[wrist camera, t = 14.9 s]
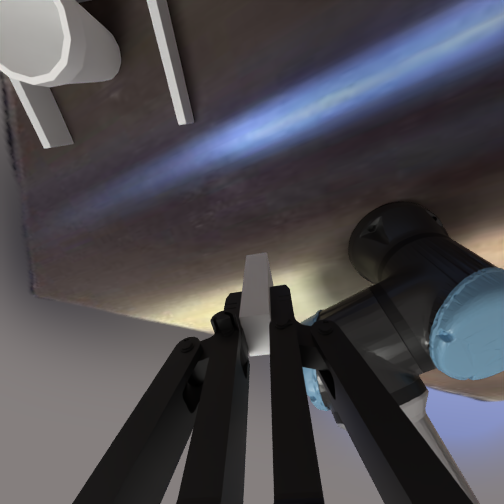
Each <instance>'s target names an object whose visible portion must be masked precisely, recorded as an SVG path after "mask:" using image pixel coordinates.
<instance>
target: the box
mask: <svg viewBox="0 0 504 504" xmlns="http://www.w3.org/2000/svg"><path fill="white" fill-rule="evenodd" d="M75 1H76V2H77V3H81V2H86V1H90V0H75ZM147 3H148V7H149V11H150V15H151V19H152V23H153V27H154V31H155V35H156V38H157V42H158V46H159V50H160V54H161V58H162V62H163V66H164V70H165V73H166V77H167V81H168V85H169V89H170V93H171V97H172V101H173V105H174V109H175V112H176V116H177V120H178V124H179V125H183V124H190V123H195V122H194V118H193V114H192V109H191V105H190V101H189V96H188V92H187V87H186V83H185V79H184V74H183V70H182V66H181V61H180V57H179V53H178V48H177V44H176V40H175V35H174V31H173V27H172V22H171V18H170V14H169V9H168V5H167V1H166V0H147ZM9 78H10V77H9ZM10 80H11V82H12V84H13V86H14V88H15V90H16V92H17V94H18V96H19V98H20V100H21V102H22V104H23V106H24V108H25V110H26V112H27V114H28V116H29V118H30V121H31V123H32V125H33V127H34V129H35V131H36V133H37V135H38V137H39V139H40V141H41V143H42V145H43V147H44V148H51V147H58V146H64V145H70V144H74V142H73V140H72V137H71V135H70V133H69V131H68V128H67V126H66V124H65V121H64V119H63V117H62V115H61V112H60V110H59V108H58V105H57V103H56V101H55V99H54V96H53V94H52V92H51V90H50V87H45V86H37V85H32V84H29V83H25V82H22V81H19V80H16V79H12V78H10Z"/></svg>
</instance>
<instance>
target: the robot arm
mask: <svg viewBox="0 0 504 504" xmlns="http://www.w3.org/2000/svg"><path fill="white" fill-rule="evenodd" d="M348 252H349V257H350V260H351V262H352V264H353V266H354V267H355V269H356V270H357V272H358V273H359V274H360V275H361V276H362V277H363V278H365V279H366V280H368V281H370V282H372V283H375V285H373V286H371V287H368V288H366V289H364V290H363V291H361V292H359V293H357V294H355V295H353V296H351V297H349V298H347V299H345V300H343V301H341V302H339V303H337V304H335V305H333V306H331V307H329V308H327V309H325V310H319V311H317V312H316V314H315V315H313V316H311V317H310V318H308V319H306V320H304V321H303V322H301V323H299V322H297V321H296V319H295V317H294V312H293V306H292V300H291V294H290V289H289V288H288V287H287V286H286V285H280V286H273V281H272V276H271V271H270V266H269V260H268V255H267V252H266V253H260V254H254V255H247V256H246V263H245V271H244V280H243V288H242V292H236V293H230V294H229V296H228V297H227V298H226V302H225V306H224V311H221V312H218V313H217V314H215V315H214V316H213V317H212V319H211V324H212V327H213V330H214V332H215V334H214V335H213V336H212V337H210V338H208V339H205V340H203V341H199V339H198V338H196V337H188V338H185V339H183V340H182V341H180V342H179V343H178V344H177V345H176V347H175V348H174V350H173V351H172V353H171V354H170V356H169V357H168V359H167V360H166V362H165V363H164V365H163V366H162V368H161V369H160V371H159V372H158V374H157V375H156V377H155V379H154V380H153V382H152V383H151V385H150V386H149V388H148V389H147V391H146V392H145V394H144V395H143V397H142V398H141V400H140V401H139V403H138V405H137V406H136V407H135V409H134V411H133V412H132V414H131V415H130V417H129V418H128V420H127V421H126V423H125V424H124V426H123V427H122V429H121V430H120V432H119V433H118V435H117V436H116V438H115V439H114V441H113V442H112V444H111V446H110V447H109V449H108V450H107V452H106V453H105V455H104V456H103V458H102V459H101V461H100V462H99V464H98V465H97V467H96V468H95V470H94V471H93V473H92V475H91V476H90V477H89V479H88V480H87V482H86V484H85V485H84V487H83V488H82V490H81V491H80V493H79V494H78V496H77V497H76V499H75V500H74V502H73V503H72V504H160V503H161V501H162V499H163V496H164V494H165V492H166V490H167V487H168V485H169V482H170V480H171V478H172V476H173V473H174V471H175V469H176V466H177V464H178V462H179V459H180V457H181V455H182V453H183V450H184V448H185V446H186V444H187V441H188V439H189V437H190V434H191V432H192V429H193V432H192V437H191V442H190V446H189V451H188V455H187V459H186V464H185V469H184V473H183V477H182V482H181V486H180V491H179V496H178V500H177V503H176V504H243V495H244V474H245V454H246V432H247V413H248V392H249V391H248V390H249V371H250V364H249V359H248V351H249V354H250V356H258V355H266V354H270V372H271V373H270V374H271V407H272V441H273V474H274V504H324V498H323V491H322V485H321V479H320V473H319V467H318V460H317V455H316V448H315V442H314V436H313V430H312V423H311V417H310V411H309V405H308V399H307V395H308V396H310V399H311V402H312V403H313V404H314V406H316V407H317V408H318V409H320V410H325V411H328V410H331V411H332V414H333V416H334V418H335V421H336V423H337V424H338V426H339V427H341V428H343V429H344V430H346V431H348V433H349V436H350V437H351V439H352V441H353V443H354V445H355V447H356V449H357V451H358V453H359V455H360V457H361V459H362V461H363V463H364V465H365V467H366V468H367V470H368V472H369V474H370V476H371V478H372V480H373V482H374V484H375V486H376V488H377V490H378V492H379V494H380V496H381V498H382V500H383V502H384V503H385V504H480V503H479V501H478V500H477V498H476V496H475V495H474V493H473V491H472V490H471V488H470V486H469V485H468V483H467V481H466V480H465V478H464V476H463V474H462V473H461V471H460V470H459V468H458V466H457V464H456V463H455V461H454V459H453V458H452V456H451V454H450V453H449V451H448V450H447V448H446V446H445V444H444V443H443V441H442V439H441V438H440V436H439V434H438V433H437V431H436V429H435V428H434V426H433V424H432V423H431V421H430V419H429V418H428V416H427V414H426V411H425V407H426V402H427V397H428V390H427V388H426V387H425V385H424V383H423V382H422V380H421V379H420V377H419V375H420V374H422V373H424V372H427V371H430V370H433V369H435V368H438V370H440V371H442V372H443V373H445V374H446V375H448V376H449V377H452V378H455V379H458V380H466V379H467V378H469V379H471V380H478V379H483V378H487V377H490V376H493V375H496V374H498V373H500V372H502V371H504V270H503V269H501V268H498V267H496V266H494V265H493V264H491V263H490V262H488V261H486V260H485V259H483V258H482V257H480V256H478V255H477V254H475V253H473V252H472V251H470V250H469V249H467V248H465V247H464V246H462V245H461V244H459V243H457V242H456V241H454V240H452V239H451V238H450V237H449V235H448V233H447V232H446V230H445V228H444V227H443V225H442V223H441V221H440V220H439V218H438V217H437V216H436V215H435V214H434V213H432V212H431V211H429V210H428V209H426V208H424V207H422V206H420V205H418V204H415V203H410V202H396V203H391V204H387V205H384V206H382V207H379V208H377V209H375V210H374V211H372V212H371V213H369V214H368V215H367V216H365V217H364V218H363V219H362V220H361V221H360V222H359V224H358V225H357V226H356V228H355V229H354V231H353V233H352V235H351V238H350V241H349V247H348ZM193 427H194V428H193Z"/></svg>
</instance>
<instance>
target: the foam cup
mask: <svg viewBox="0 0 504 504" xmlns="http://www.w3.org/2000/svg"><path fill="white" fill-rule="evenodd" d="M120 65H121V55H120V48H119V46H118V44H117V42H116V40H115V38H114V36H113V35H112V34H111V33H110V32H109V31H108V30H107V29H106V28H105V27H104V26H103V25H102V24H101V23H99V22H98V21H97V20H96V19H95V18H94V17H93V16H92V15H91V14H90V13H88V12H87V11H86V10H85V9H84V8H83V7H82V6H81V5H80V4H79V3H77V2H76V1H75V0H0V70H1V71H2V72H3V73H5V74H6V75H7V76H8V77H10V78H12V79H16V80H19V81H22V82H25V83H29V84H32V85H37V86H45V87H55V86H59V85H64V84H75V83H90V82H101V81H107V80H111V79H113V78H114V77H115V75H116V74H117V73H118V72H119V69H120Z"/></svg>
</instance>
